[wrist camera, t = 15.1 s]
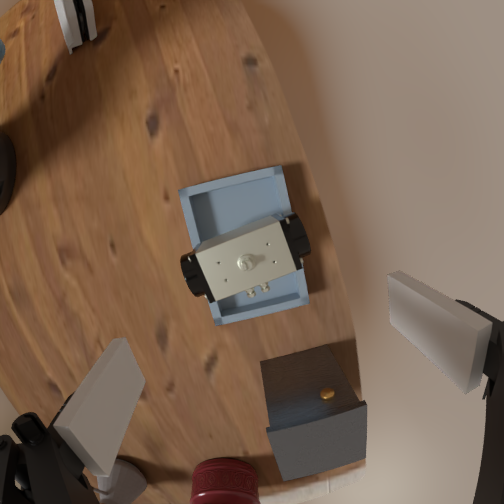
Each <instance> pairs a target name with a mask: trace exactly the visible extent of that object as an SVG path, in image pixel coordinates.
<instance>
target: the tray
mask: <svg viewBox="0 0 504 504" xmlns="http://www.w3.org/2000/svg"><path fill="white" fill-rule="evenodd" d="M178 192H179V196H180V200H181V204H182V208H183V212H184V216H185V220H186V224H187V228H188V232H189V235H190V239H191V243H192V247H193V249H194V248H195V247H196V245H197V244H198V243H201V242H203V241H206V240H208V239H211V238H213V237H216V236H218V235H221V234H224V233H226V232H229V231H231V230H234V229H236V228H239V227H242V226H244V225H247V224H249V223H252V222H255V221H257V220H260V219H262V218H265V217H268V216H270V215H273V214H278V215H280V214H281V215H282V216H285V215H288V214H290V213H292V211H291V206H290V201H289V197H288V192H287V188H286V184H285V179H284V175H283V171H282V166H281V165H280V166H275V167H270V168H266V169H261V170H256V171H252V172H248V173H243V174H239V175H235V176H230V177H226V178H222V179H218V180H214V181H210V182H206V183H202V184H199V185H195V186H191V187H187V188H184V189H180V190H178ZM302 267H303V264H302ZM268 286H270V290H269V291H268V292H264V293H263V292H262V291H261V288H260V286H256V287H254V291H255V292H256V295H255V296H254V297H252V298H249V297H248V296H247V294H248V293H246V292H245V291H243V292H240V293H237V294H235V295H232V296H229V297H227V298H224V299H221V300H219V301H216V302H213V303H209V301H208V303H209V306H210V309H211V312H212V316H213V319H214V322H215V325H216V326H218V325H222V324H227V323H232V322H236V321H240V320H245V319H249V318H253V317H258V316H262V315H266V314H270V313H274V312H278V311H282V310H286V309H290V308H294V307H298V306H302V305H306V304H309V303H310V302H309V296H308V291H307V285H306V280H305V275H304V269H300V270H298V271H295V272H292V273H290V274H287V275H285V276H282V277H280V278H277V279H274V280H272V281H269V282H268Z"/></svg>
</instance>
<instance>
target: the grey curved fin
mask: <svg viewBox="0 0 504 504" xmlns="http://www.w3.org/2000/svg"><path fill="white" fill-rule="evenodd" d="M54 3H55V7H56V10H57V14H58V18H59V21H60V25H61V28H62V31H63V35H64V38H65V41H66V44H67V47H68V50H69V53H70V54H72V53H73V52H72V48H73V47H76V46H79V45H82V42H84V36H83V33H85V35H86V38H87V40H88V39H90V41H91V40H93V39H95V38H96V37H97V31H96V24H95V17H94V9H93V4H92V1H91V0H54ZM77 6H78V7H80V10H81V13H79V10H78V7H77Z"/></svg>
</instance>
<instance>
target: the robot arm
mask: <svg viewBox="0 0 504 504" xmlns="http://www.w3.org/2000/svg"><path fill="white" fill-rule="evenodd" d="M4 55H5V45H4V43H3V42H2V40H1V39H0V63H1V61H2V60H3V58H4ZM15 175H16V158H15V152H14V148H13V145H12V142H11V140H10V139H9V137H8V136H7V135H6V134H5V133H3V132H0V214H1V213H2V212H3V211H4V209H5V208H6V206H7V204H8V202H9V200H10V197H11V194H12V191H13V187H14V182H15ZM387 279H388V293H389V311H390V324H391V325H392V326H393V327H394V328H396V329H397V330H398V331H399V332H400V333H401V334H402V335H403V336H404V337H405V338H407V339H408V340H409V341H410V342H411V343H412V344H413V345H414V346H415V347H416V348H417V349H419V350H420V351H421V352H422V353H423V354H424V355H425V356H426V357H427V358H428V359H429V360H430V361H431V362H432V363H433V364H435V366H437V367H438V368H439V369H440V370H441V371H442V372H443V373H444V374H445V375H446V376H447V377H448V378H449V379H450V380H451V381H452V382H453V383H454V384H456V386H457V387H459V389H460V390H461V391H463V392H464V394H467V393H469V392H470V391H472V390H473V389H475V388H476V387H478V386H480V382H481V378H482V374H483V373H484V374H485V375H486V376H488V381H487V385H486V388H485V392H484V395H483V399H485V397H486V395H487V398H486V423H485V435H484V445H483V453H482V460H481V467H480V472H479V478H478V483H477V488H476V492H475V497H474V501H473V504H504V321H503V322H501V321H500V320H498V319H496V318H494V317H493V316H491V315H489V314H487V313H485V312H484V311H481V310H480V309H479V308H477V307H476V308H475V306H473V305H471V304H469V303H468V302H465V301H461V300H453V299H451V298H449V297H448V296H446V295H444V294H442V293H440V292H439V291H437V290H435V289H433V288H431V287H430V286H427V285H426V284H424V283H422V282H420V281H418V280H417V279H415V278H413V277H411V276H409V275H407V274H405V273H403V272H402V271H397V272H394V273H391V274H387ZM145 382H146V381H145V379H144V377H143V375H142V373H141V370H140V368H139V366H138V364H137V362H136V360H135V357H134V355H133V353H132V351H131V349H130V346H129V344H128V342H127V339H126V337H123V338H117V339H113V340H112V341H111V342H110V344H109V345H108V346H107V348H106V349H105V351H104V352H103V353H102V355H101V356H100V357H99V359H98V360H97V362H96V363H95V364H94V366H93V367H92V369H91V370H90V371H89V373H88V374H87V376H86V377H85V378H84V380H83V381H82V383H81V384H80V386H79V387H78V389H77V390H76V391H75V392H74V393H73V394H71V395H70V396H69V397H68V398H67V400H66V401H65V403H64V404H63V405H64V406H62V407H61V409H60V410H59V411H60V412H58V413H57V414H56V416H55V417H54V419H53V420H52V422H51V423H50V425H49V427H48V428H46V427H45V426H44V424H43V423H42V421H41V420H40V419H39V417H38V416H37V414H36V413H33V412H28V413H25V414H23V415H21V416H19V417H18V418H17V419H16V420H15V421H14V422H13V424H12V427H11V428H12V430H13V431H14V433H15V434H16V435H17V437H18V438H19V439H20V441H21V442H22V443H21V444H16V443H15V442H14V441H13V440H12V438H11V437H10V436H9V435H2V436H0V504H100V503H99V501H98V499H97V497H96V495H95V493H94V491H93V489H92V487H91V485H90V483H89V481H88V479H87V477H86V476H85V475H84V474H83V472H82V471H83V469H84V467H86V468H87V469H88V470H89V471H90V472H91V473H92V474H93V475H96V476H104V477H109V476H110V473H111V470H112V467H113V464H114V462H115V459H116V456H117V453H118V451H119V448H120V445H121V443H122V440H123V437H124V435H125V432H126V430H127V427H128V424H129V422H130V419H131V417H132V414H133V412H134V409H135V407H136V404H137V402H138V399H139V397H140V394H141V392H142V389H143V387H144V385H145ZM15 480H16V481H17V482H18V483H19V484H20V485H21V490H20V489H18V488H17V487H16V486H15Z"/></svg>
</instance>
